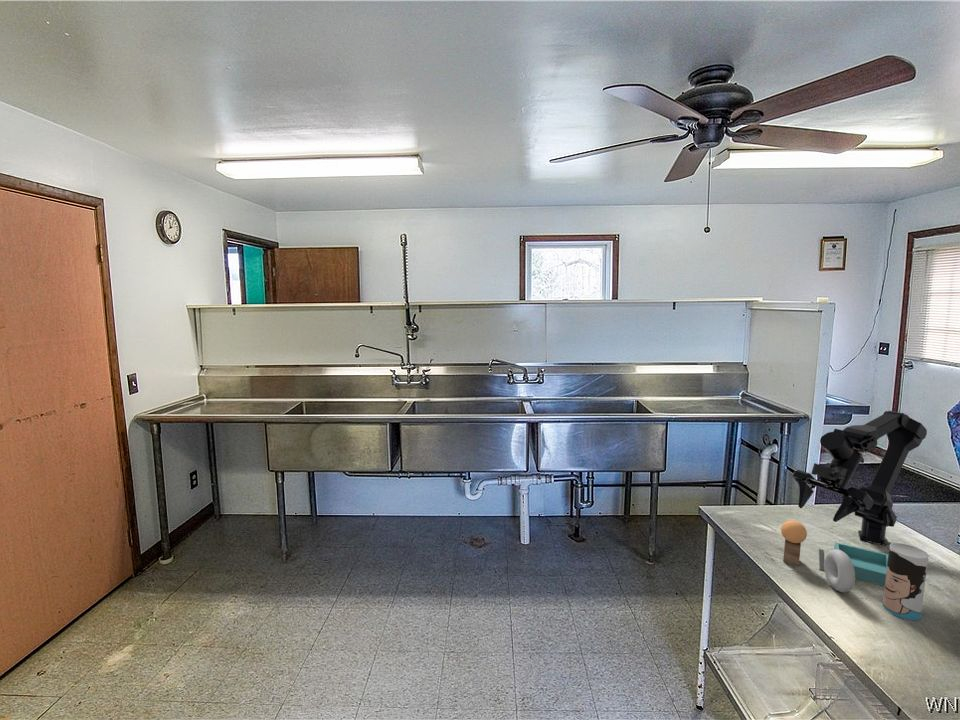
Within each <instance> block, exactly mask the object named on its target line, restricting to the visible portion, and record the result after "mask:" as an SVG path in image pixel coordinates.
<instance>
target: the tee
mask: <svg viewBox="0 0 960 720" xmlns="http://www.w3.org/2000/svg"><path fill="white" fill-rule="evenodd" d="M801 545H802V542H801V543H791V542H789V541H787V540H786V539H785V538H784V549H783V551H784V552H783V562H784V563H788V564H790V563H791V564H792V565H795V566H799V565H800V557H801V556H800V555H801V548H802V547H801ZM783 562H782V563H783ZM791 564H790V565H791ZM799 567H800V566H799Z"/></svg>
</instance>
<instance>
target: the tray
mask: <svg viewBox="0 0 960 720" xmlns="http://www.w3.org/2000/svg"><path fill="white" fill-rule="evenodd" d="M833 549H838V550H841V551H843V552H844V553H846V554H847V555H848V556H849V558H850V559H851V561H852V563H853V567H854V570H855V580H856V579H857V580H859V581H860V580H861V581H864V582H869V583H872V584H876V585H879V586H883V587H885V580H886V571H887V563H888V554H889V553H884V552H880V551H875V550H871V549H867V548H862V547H859V546H854V545H850V544H845V543H840V542H837V541H835V542H834V546H833Z"/></svg>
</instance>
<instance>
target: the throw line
mask: <svg viewBox="0 0 960 720" xmlns="http://www.w3.org/2000/svg"><path fill="white" fill-rule="evenodd" d="M824 554H825V553H824V549H821V548H819V549H818V555H819V557H818V558H819V571H822V572H825V569H824V561H825V557H824V556H825V555H824Z"/></svg>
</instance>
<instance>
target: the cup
mask: <svg viewBox="0 0 960 720" xmlns="http://www.w3.org/2000/svg"><path fill="white" fill-rule="evenodd" d="M887 554H888V563H887V571H886V580H885V586H884V590H883V598H882V607H883V608H884V610H885V611H887V612H888V613H890V614H891V615H893V616H896V617H898V618H900V619H904V620H907V621H908V620H909V621H918V620H920V619H921V617H922V609H923V605H924V604H923V602H924V595H925V586H926V579H927V572H928V571H927V570H928V565H929V564H928V562H929V557H930V556H929V553H927V551H925V550H923V549H921V548H919V547H917V546H914V545H911V544H907V543H899V542H896V543H895V542H894V543H890V544H889V548H888V553H887Z"/></svg>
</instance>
